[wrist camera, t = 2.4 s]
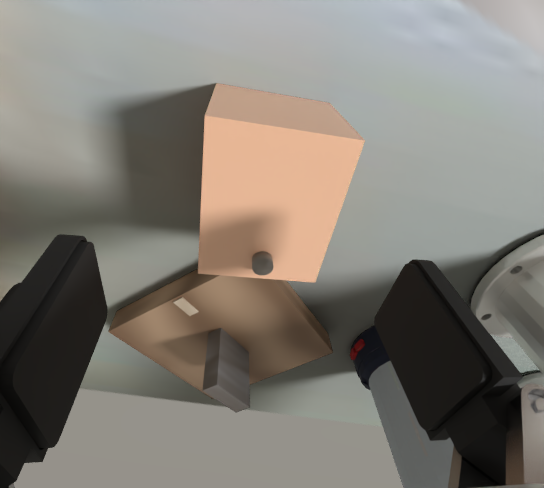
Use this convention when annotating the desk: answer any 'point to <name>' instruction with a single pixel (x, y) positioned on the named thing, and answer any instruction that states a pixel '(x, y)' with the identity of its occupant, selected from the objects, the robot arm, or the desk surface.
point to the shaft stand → (223, 332)
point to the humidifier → (400, 418)
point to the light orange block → (272, 183)
